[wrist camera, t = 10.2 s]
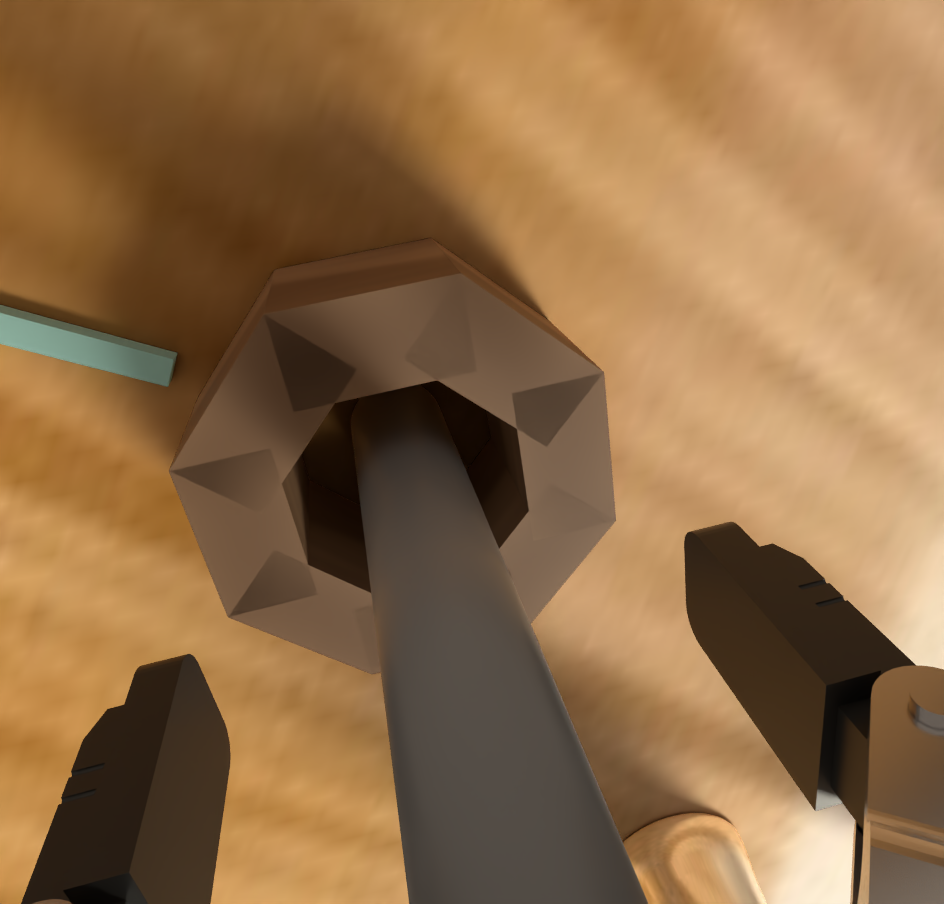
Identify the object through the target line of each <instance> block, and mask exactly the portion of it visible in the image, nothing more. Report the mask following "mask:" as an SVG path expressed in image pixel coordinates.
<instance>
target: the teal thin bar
mask: <svg viewBox="0 0 944 904" xmlns="http://www.w3.org/2000/svg"><path fill="white" fill-rule="evenodd" d="M0 344H3V345H7V346H11V347H15V348H18V349H22V350H26V351H30V352H34V353H38V354H42V355H46V356H50V357H54V358H57V359H61V360H65V361H69V362H73V363H77V364H81V365H85V366H89V367H92V368H96V369H100V370H104V371H108V372H112V373H116V374H120V375H124V376H128V377H131V378H135V379H139V380H143V381H147V382H151V383H155V384H159V385H163V386H167V387H168V386H169V384H170V382H171V380H172V376H173V371H174V367H175V362H176V358H177V353H176V352H172V351H169V350H165V349H161V348H158V347H154V346H150V345H147V344H143V343H139V342H136V341H132V340H128V339H124V338H121V337H117V336H113V335H110V334H106V333H102V332H99V331H95V330H91V329H88V328H84V327H80V326H77V325H73V324H69V323H66V322H62V321H58V320H55V319H51V318H47V317H43V316H40V315H36V314H32V313H29V312H25V311H21V310H18V309H14V308H10V307H7V306H3V305H0Z"/></svg>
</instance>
